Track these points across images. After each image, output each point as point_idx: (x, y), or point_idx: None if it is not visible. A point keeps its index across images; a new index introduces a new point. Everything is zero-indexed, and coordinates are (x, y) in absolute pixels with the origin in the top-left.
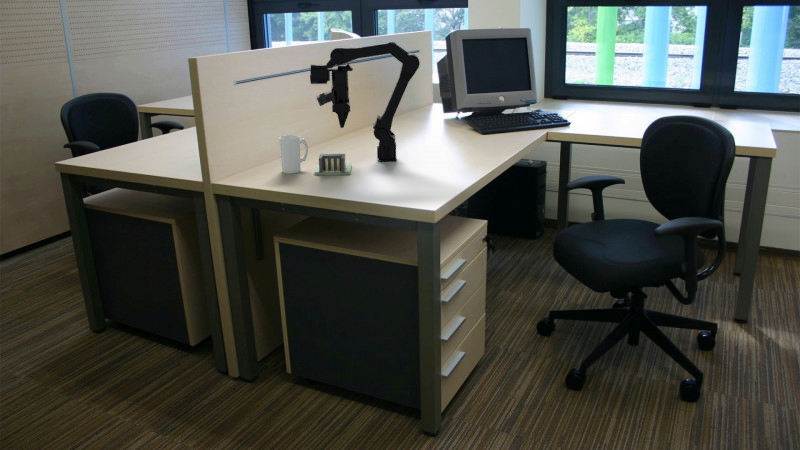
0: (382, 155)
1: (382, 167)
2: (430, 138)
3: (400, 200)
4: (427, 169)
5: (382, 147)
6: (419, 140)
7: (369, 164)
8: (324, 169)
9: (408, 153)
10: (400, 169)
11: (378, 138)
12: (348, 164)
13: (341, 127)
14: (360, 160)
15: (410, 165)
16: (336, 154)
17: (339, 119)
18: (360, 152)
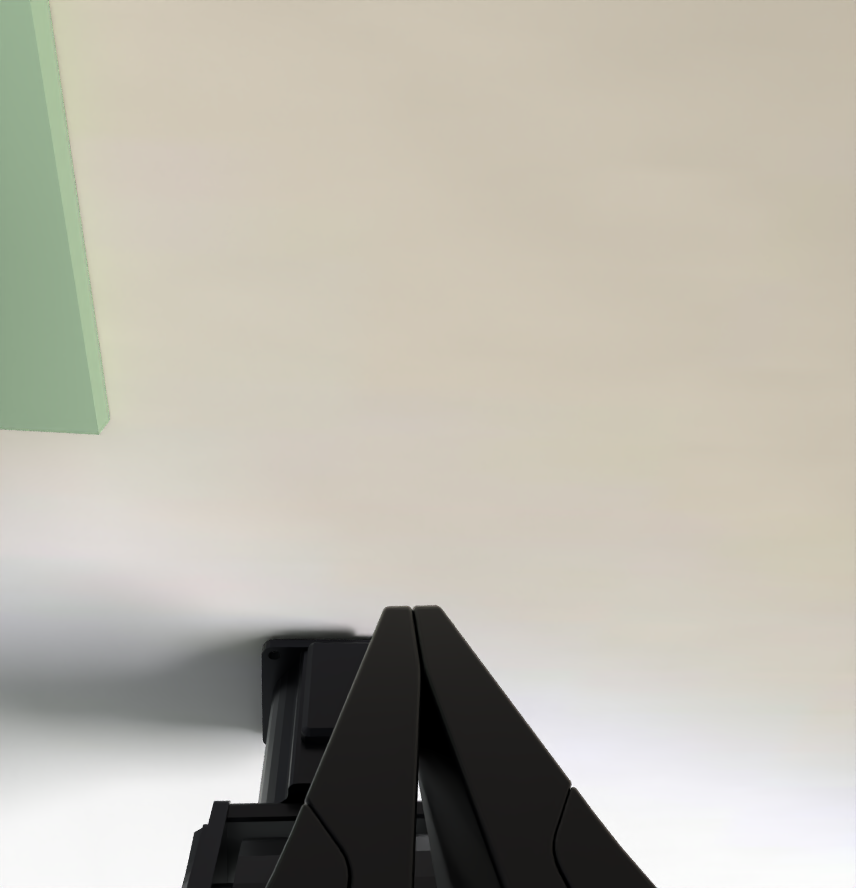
0: (284, 700)
1: (63, 654)
2: (832, 868)
3: None
4: (44, 863)
5: (276, 772)
6: (816, 831)
7: (165, 570)
8: None
9: None
10: (16, 751)
11: (195, 868)
12: (6, 402)
13: (379, 625)
14: (325, 505)
15: (148, 796)
16: None
17: (306, 819)
18: (638, 513)
